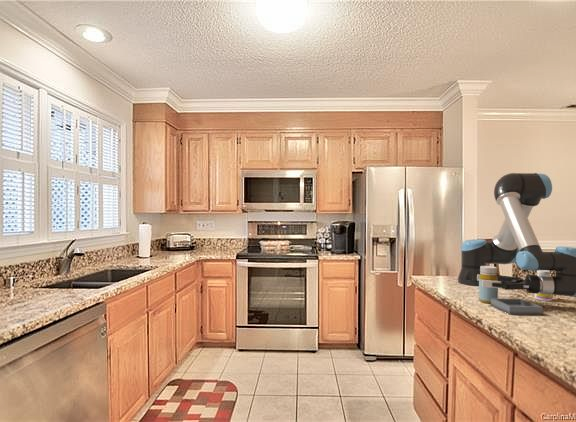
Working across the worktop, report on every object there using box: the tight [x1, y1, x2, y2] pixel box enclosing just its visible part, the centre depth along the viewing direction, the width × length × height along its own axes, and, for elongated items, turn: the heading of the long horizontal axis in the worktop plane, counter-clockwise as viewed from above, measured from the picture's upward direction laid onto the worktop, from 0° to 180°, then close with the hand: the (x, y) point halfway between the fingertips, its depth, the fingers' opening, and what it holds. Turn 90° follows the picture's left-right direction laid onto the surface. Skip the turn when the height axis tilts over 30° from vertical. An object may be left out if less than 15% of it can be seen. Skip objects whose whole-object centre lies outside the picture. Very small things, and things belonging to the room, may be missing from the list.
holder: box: [490, 297, 544, 316], centre depth 138 cm, size 12×12×3 cm
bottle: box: [478, 265, 499, 305], centre depth 150 cm, size 7×7×15 cm
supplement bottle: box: [533, 270, 554, 302], centre depth 154 cm, size 7×7×13 cm
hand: (479, 280), depth 151 cm, fingers open, 13 cm apart
